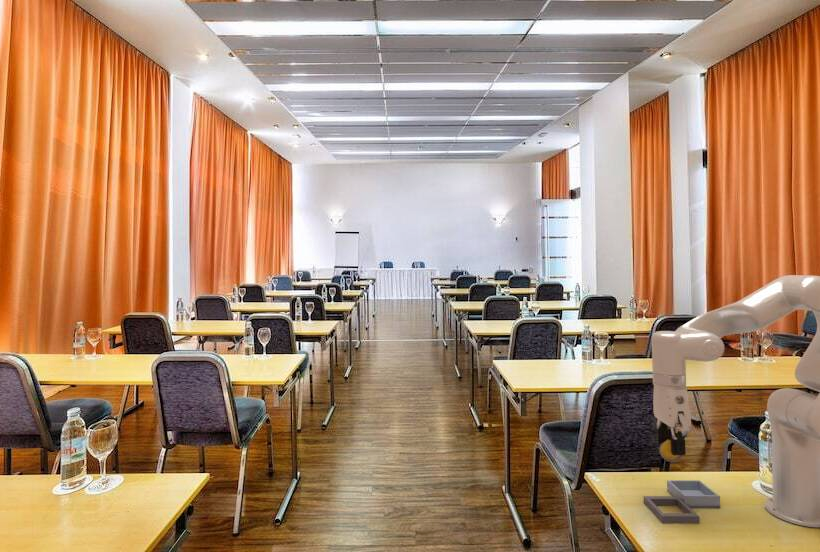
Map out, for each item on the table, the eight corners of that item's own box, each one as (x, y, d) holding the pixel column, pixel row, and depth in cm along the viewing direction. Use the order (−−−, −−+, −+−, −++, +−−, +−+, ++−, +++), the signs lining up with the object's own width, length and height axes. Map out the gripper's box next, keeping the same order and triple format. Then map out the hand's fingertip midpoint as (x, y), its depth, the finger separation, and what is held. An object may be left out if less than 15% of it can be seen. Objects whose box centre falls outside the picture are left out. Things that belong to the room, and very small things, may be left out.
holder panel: (677, 502, 122) (677, 496, 122) (699, 523, 112) (699, 516, 112) (643, 502, 123) (643, 496, 123) (662, 523, 113) (662, 516, 113)
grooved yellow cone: (688, 462, 117) (685, 444, 111) (668, 470, 118) (664, 453, 112) (676, 443, 122) (671, 426, 116) (656, 451, 122) (651, 434, 116)
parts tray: (699, 491, 128) (699, 480, 128) (720, 507, 119) (719, 496, 119) (667, 491, 129) (666, 480, 129) (684, 507, 120) (684, 496, 120)
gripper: (704, 388, 108) (706, 463, 109) (666, 371, 126) (668, 436, 126) (672, 388, 109) (674, 463, 109) (638, 372, 126) (640, 437, 126)
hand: (671, 448), depth 117 cm, fingers closed on grooved yellow cone, 6 cm apart
